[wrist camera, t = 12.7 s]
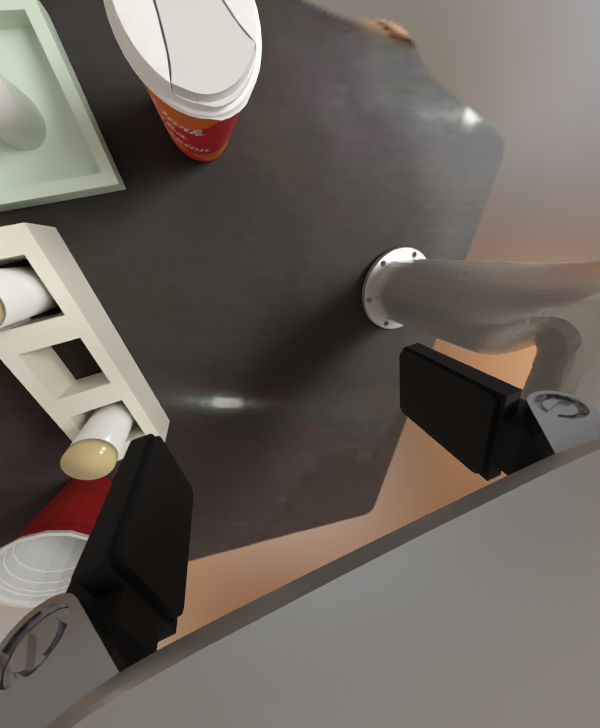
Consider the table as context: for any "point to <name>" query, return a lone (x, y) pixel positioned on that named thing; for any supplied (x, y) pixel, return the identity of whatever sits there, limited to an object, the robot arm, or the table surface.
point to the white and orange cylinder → (19, 118)
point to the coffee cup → (192, 63)
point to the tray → (49, 117)
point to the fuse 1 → (22, 295)
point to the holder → (78, 320)
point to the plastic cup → (51, 545)
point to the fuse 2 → (98, 443)
